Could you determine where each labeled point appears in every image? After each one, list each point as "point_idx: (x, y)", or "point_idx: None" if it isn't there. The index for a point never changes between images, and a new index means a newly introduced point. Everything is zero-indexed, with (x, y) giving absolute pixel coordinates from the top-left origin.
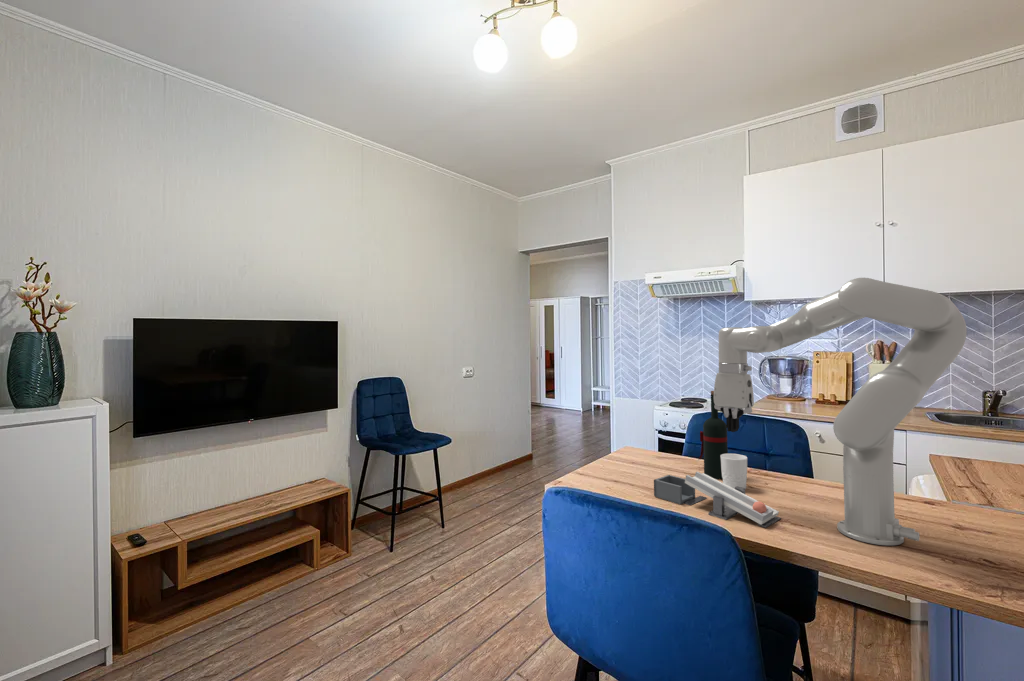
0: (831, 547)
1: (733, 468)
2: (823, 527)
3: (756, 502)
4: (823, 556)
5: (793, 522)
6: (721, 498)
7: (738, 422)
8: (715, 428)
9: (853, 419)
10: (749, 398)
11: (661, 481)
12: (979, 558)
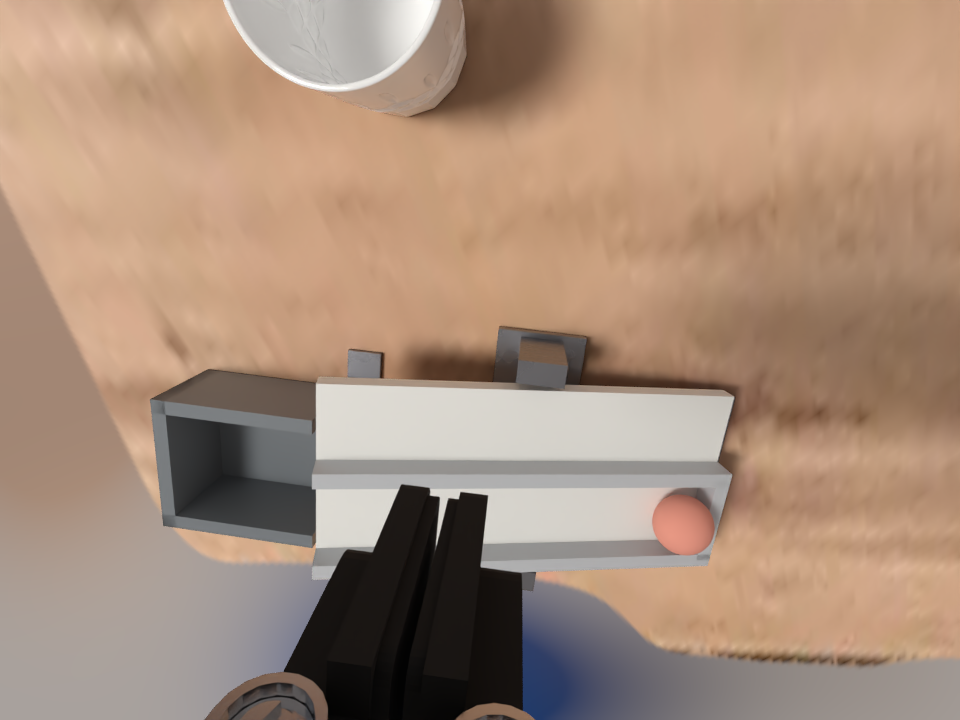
0: (933, 558)
1: (392, 95)
2: (909, 378)
3: (678, 547)
4: (905, 638)
5: (786, 401)
6: (530, 586)
7: (518, 669)
8: None
9: None
10: None
11: (203, 525)
12: None
